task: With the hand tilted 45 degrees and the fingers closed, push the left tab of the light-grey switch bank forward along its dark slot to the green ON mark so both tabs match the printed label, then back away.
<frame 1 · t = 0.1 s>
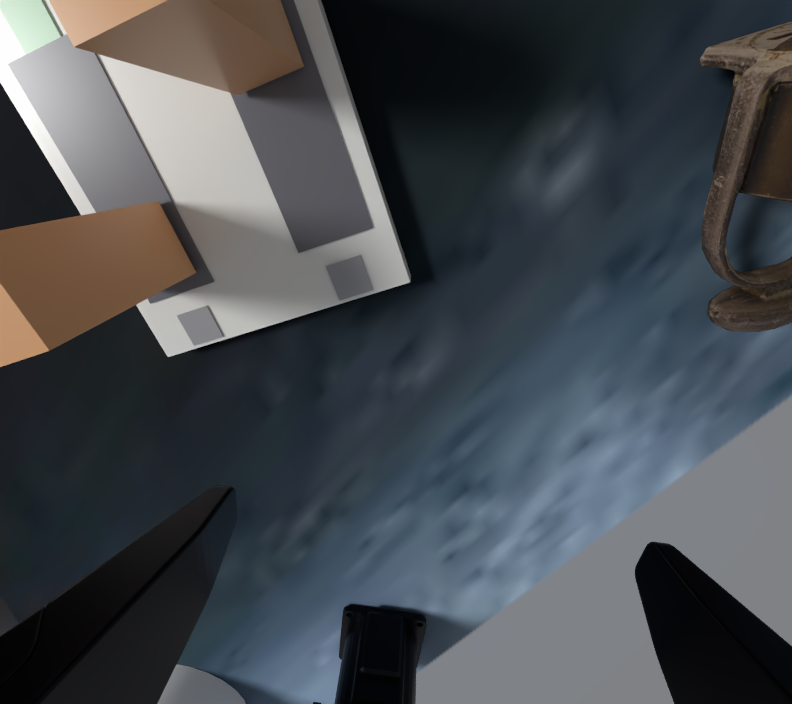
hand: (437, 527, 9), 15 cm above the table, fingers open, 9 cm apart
brown ringed piece: (741, 182, 19), on the table
tab 2: (83, 271, 16), point 6 cm above the table, slide at 0.0 cm
switch bank: (217, 161, 20), on the table
honey pot: (184, 699, 42), on the table
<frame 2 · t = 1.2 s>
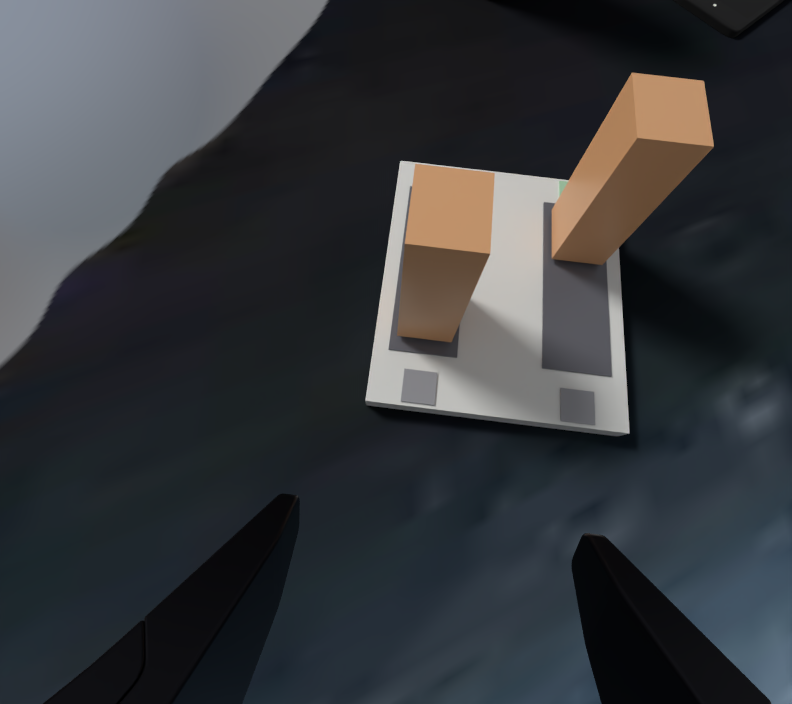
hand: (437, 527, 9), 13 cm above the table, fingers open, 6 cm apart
tab 2: (436, 269, 20), point 6 cm above the table, slide at 0.0 cm
switch bank: (497, 291, 26), on the table
tab 1: (614, 185, 22), point 6 cm above the table, slide at 6.0 cm
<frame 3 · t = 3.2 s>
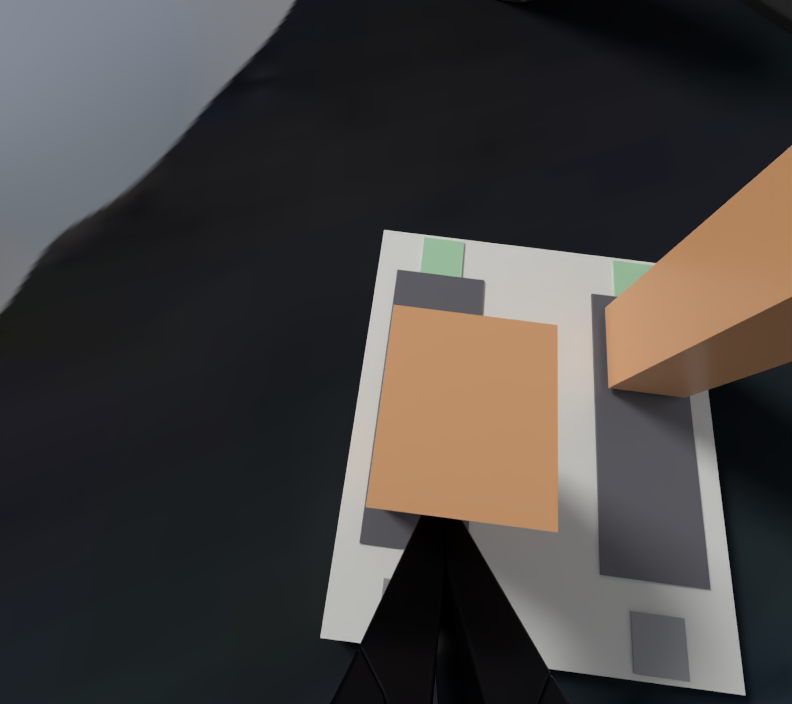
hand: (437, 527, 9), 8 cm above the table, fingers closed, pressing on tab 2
tab 2: (437, 443, 11), point 6 cm above the table, slide at 0.7 cm, touching gripper
switch bank: (525, 429, 18), on the table
tab 1: (728, 302, 13), point 6 cm above the table, slide at 6.0 cm
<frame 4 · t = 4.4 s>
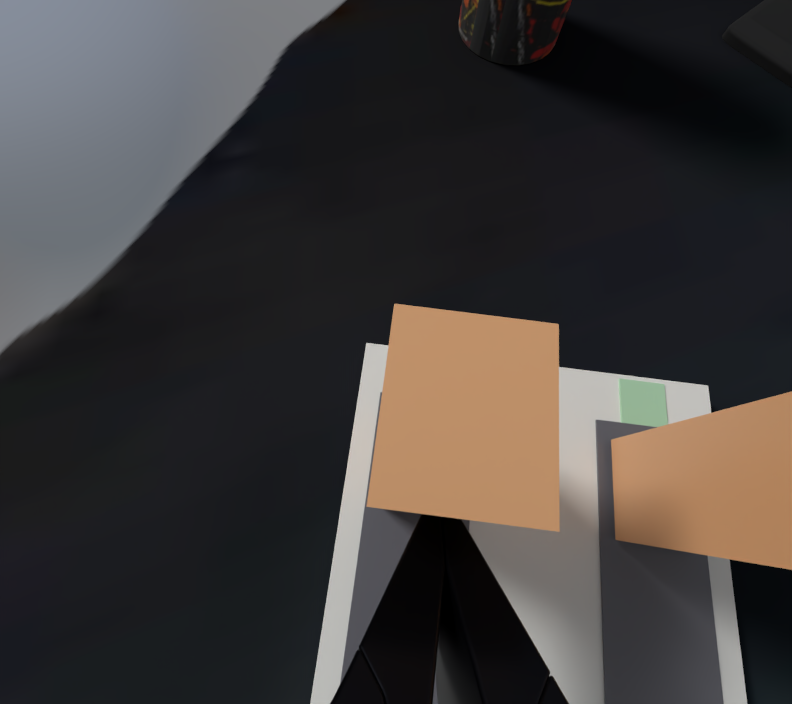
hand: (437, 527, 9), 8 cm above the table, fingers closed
tab 2: (437, 442, 11), point 6 cm above the table, slide at 6.2 cm
switch bank: (522, 576, 16), on the table
deodorant: (506, 33, 26), on the table
tab 1: (757, 490, 11), point 6 cm above the table, slide at 6.0 cm
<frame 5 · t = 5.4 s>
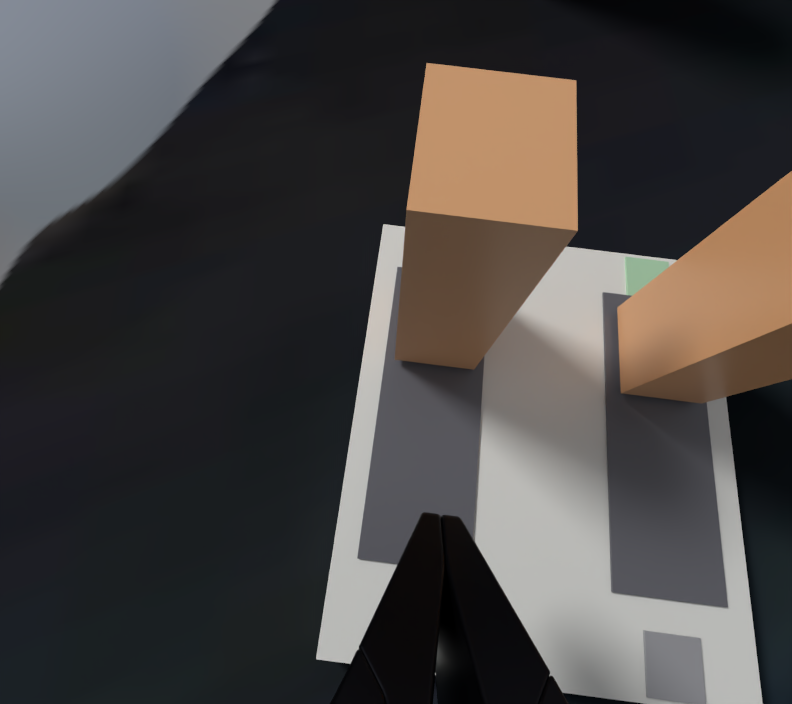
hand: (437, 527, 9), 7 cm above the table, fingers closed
tab 2: (457, 262, 12), point 6 cm above the table, slide at 6.2 cm
switch bank: (532, 435, 17), on the table
tab 1: (754, 305, 12), point 6 cm above the table, slide at 6.0 cm
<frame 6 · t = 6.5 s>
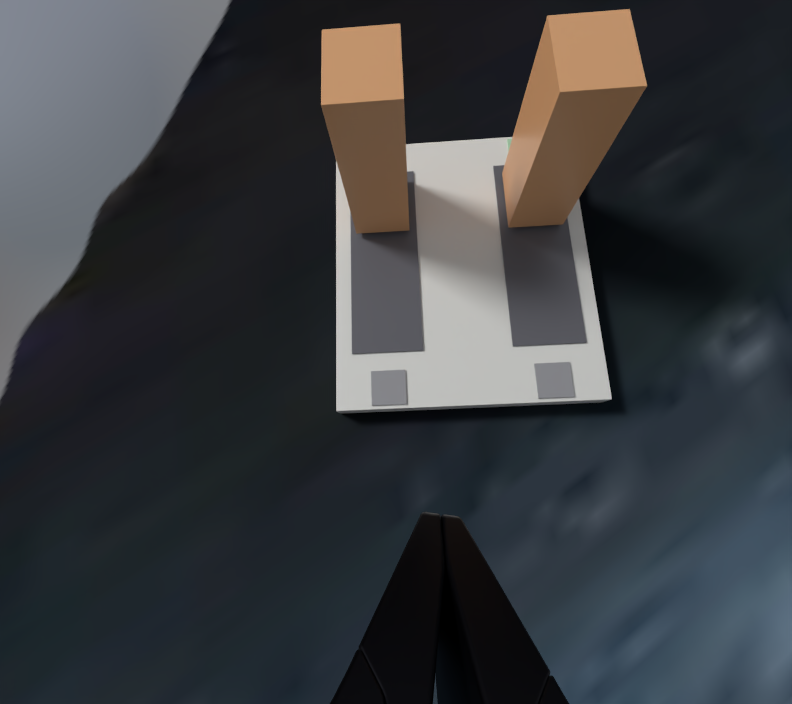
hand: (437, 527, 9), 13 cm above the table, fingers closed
tab 2: (374, 149, 20), point 6 cm above the table, slide at 6.2 cm
switch bank: (458, 271, 25), on the table
tab 1: (556, 140, 20), point 6 cm above the table, slide at 6.0 cm
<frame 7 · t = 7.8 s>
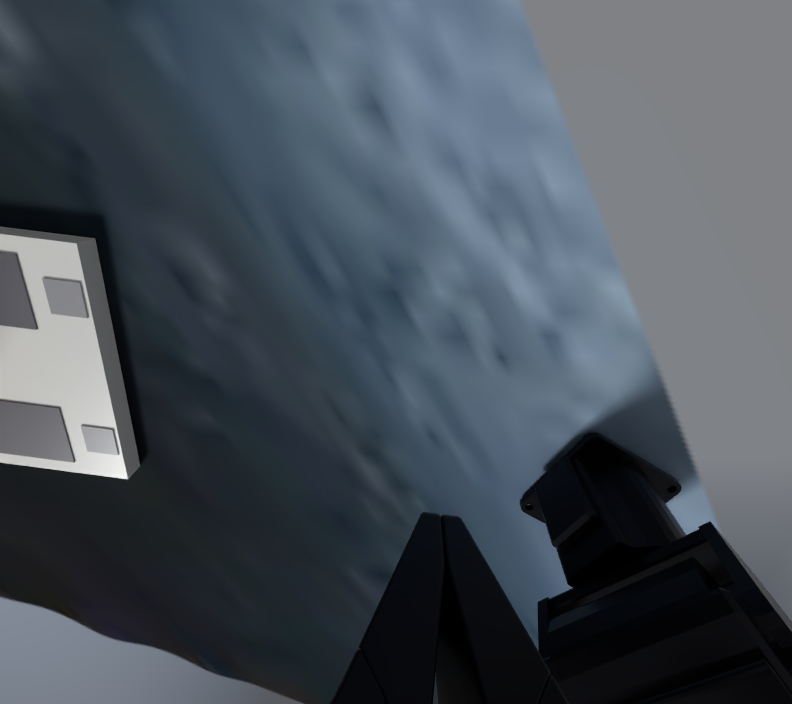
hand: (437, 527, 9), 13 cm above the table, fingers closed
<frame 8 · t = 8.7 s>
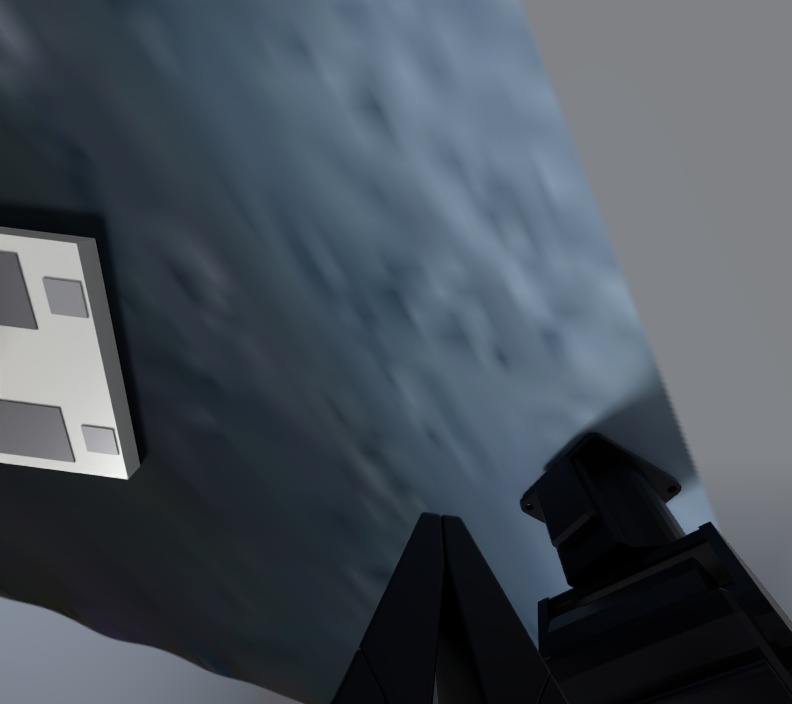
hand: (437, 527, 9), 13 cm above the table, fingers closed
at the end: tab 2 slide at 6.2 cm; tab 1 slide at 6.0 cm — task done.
